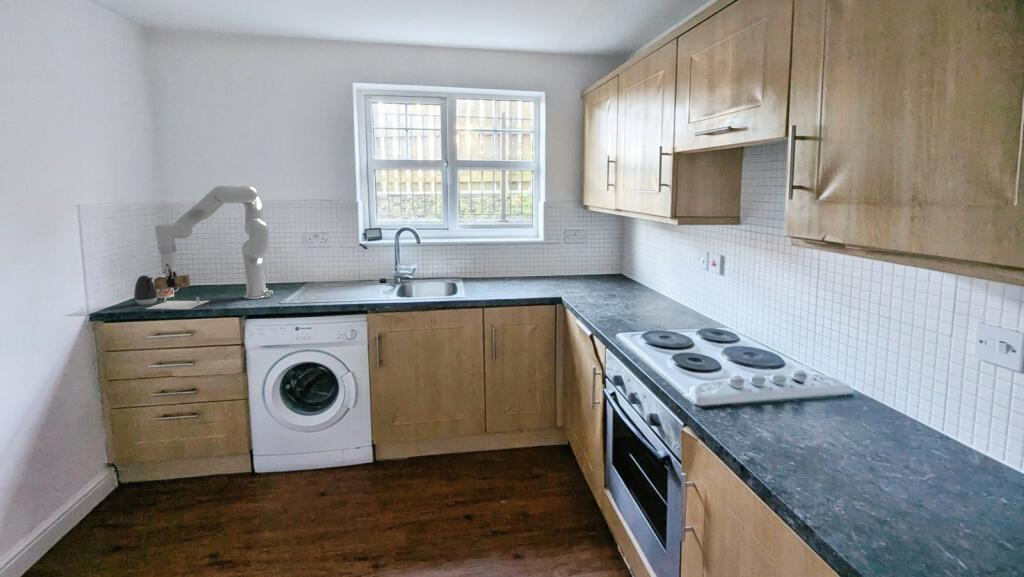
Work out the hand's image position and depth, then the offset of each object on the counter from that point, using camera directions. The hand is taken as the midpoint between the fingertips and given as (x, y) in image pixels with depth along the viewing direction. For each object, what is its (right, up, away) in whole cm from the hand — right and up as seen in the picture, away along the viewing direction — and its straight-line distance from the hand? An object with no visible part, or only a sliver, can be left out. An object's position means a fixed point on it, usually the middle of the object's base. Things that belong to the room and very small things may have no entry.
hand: (173, 285), depth 277 cm
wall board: (-1, -11, +6) cm, 12 cm away
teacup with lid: (-19, -7, +27) cm, 34 cm away
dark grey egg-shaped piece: (-19, -10, +9) cm, 23 cm away
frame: (0, -1, 0) cm, 1 cm away
